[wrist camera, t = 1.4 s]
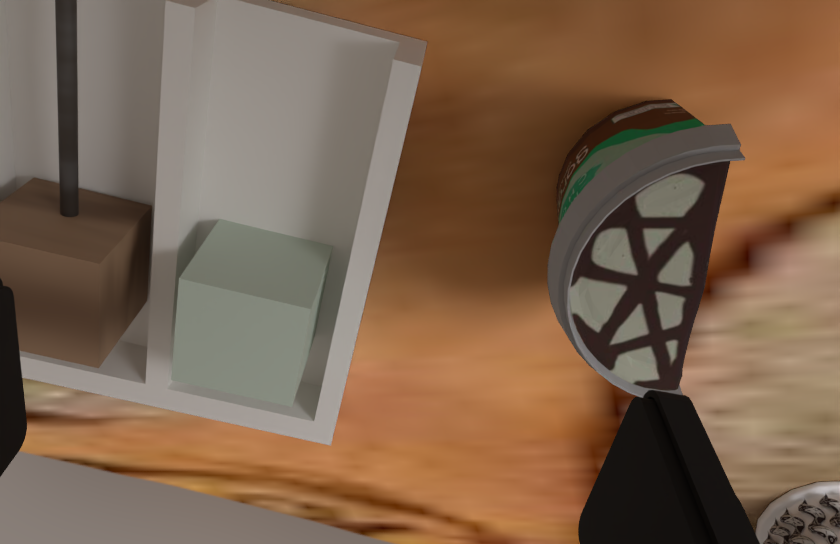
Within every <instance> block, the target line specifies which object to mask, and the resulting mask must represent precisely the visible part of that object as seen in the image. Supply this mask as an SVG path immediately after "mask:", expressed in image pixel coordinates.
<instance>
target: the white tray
mask: <svg viewBox="0 0 840 544" xmlns="http://www.w3.org/2000/svg"><path fill="white" fill-rule="evenodd" d="M426 46H427V41H423V40H419V39H415V38H412V37H408V36H404V35H400V34H396V33H392V32H389V31H385V30H381V29H377V28H373V27H370V26H366V25H362V24H358V23H354V22H350V21H347V20H343V19H339V18H335V17H331V16H327V15H324V14H320V13H316V12H312V11H308V10H305V9H301V8H297V7H293V6H289V5H285V4H282V3H278V2H274V1H270V0H77V72H78V187H79V188H80V189H85V190H89V191H93V192H97V193H101V194H106V195H110V196H114V197H118V198H122V199H126V200H131V201H135V202H139V203H143V204H147V205H151V206H152V217H151V237H150V257H149V276H148V296H147V302H146V303H145V305H144V306H143V307H142V309H141V310H140V312H139V313H138V314H137V316H136V317H135V319H134V320H133V321H132V323H131V324H130V326H129V327H128V328H127V330H126V331H125V332H124V334H123V335H122V337H121V338H120V339H119V341H118V342H117V344H116V345H115V346H114V348H113V349H112V350H111V352H110V353H109V355H108V356H107V357H106V359H105V360H104V362H103V363H102V364H101V366H100V367H99V368H95V367H90V366H86V365H81V364H77V363H72V362H68V361H64V360H59V359H55V358H50V357H46V356H41V355H37V354H32V353H28V352H23V351H20V361H21V371H22V377H23V378H27V379H32V380H36V381H41V382H45V383H50V384H54V385H59V386H63V387H68V388H73V389H77V390H82V391H86V392H91V393H95V394H100V395H104V396H109V397H113V398H118V399H122V400H127V401H131V402H136V403H141V404H145V405H150V406H154V407H159V408H163V409H168V410H172V411H177V412H181V413H186V414H190V415H195V416H199V417H204V418H209V419H213V420H218V421H222V422H227V423H231V424H236V425H240V426H245V427H249V428H254V429H258V430H263V431H267V432H272V433H277V434H281V435H286V436H290V437H295V438H299V439H304V440H308V441H313V442H317V443H322V444H326V445H331V442H332V438H333V434H334V430H335V425H336V421H337V417H338V413H339V409H340V405H341V400H342V396H343V392H344V388H345V384H346V380H347V376H348V371H349V367H350V363H351V359H352V355H353V351H354V346H355V342H356V338H357V334H358V330H359V326H360V322H361V317H362V313H363V309H364V305H365V301H366V297H367V292H368V288H369V284H370V280H371V276H372V272H373V268H374V263H375V259H376V255H377V251H378V247H379V243H380V238H381V234H382V230H383V226H384V222H385V218H386V214H387V209H388V205H389V201H390V197H391V193H392V189H393V184H394V180H395V176H396V172H397V168H398V164H399V160H400V155H401V151H402V147H403V143H404V139H405V135H406V130H407V126H408V122H409V118H410V114H411V110H412V106H413V101H414V97H415V93H416V89H417V85H418V81H419V76H420V72H421V68H422V64H423V59H424V55H425V51H426ZM34 177H35V178H39V179H43V180H47V181H51V182H55V183H59V145H58V103H57V61H56V19H55V0H0V202H1V201H3V200H4V199H5V198H7V197H8V196H9V195H11V194H12V193H13V192H15V191H16V190H17V189H19V188H20V187H21V186H23V185H24V184H26V183H27V182H28V181H30V180H31V179H32V178H34ZM219 219H223V220H227V221H231V222H235V223H239V224H243V225H248V226H252V227H256V228H260V229H264V230H268V231H273V232H277V233H281V234H285V235H289V236H293V237H298V238H302V239H306V240H310V241H314V242H318V243H323V244H327V245H331V246H333V249H332V254H331V259H330V264H329V269H328V274H327V279H326V284H325V289H324V294H323V299H322V304H321V309H320V313H319V318H318V323H317V328H316V333H315V337H314V340H313V344H312V347H311V350H310V353H309V356H308V359H307V362H306V365H305V368H304V371H303V375H302V378H301V381H300V384H299V387H298V390H297V393H296V396H295V399H294V403H293V406H292V407H290V406H285V405H281V404H276V403H272V402H267V401H263V400H258V399H254V398H249V397H245V396H240V395H236V394H231V393H227V392H222V391H218V390H213V389H209V388H204V387H200V386H196V385H191V384H187V383H182V382H178V381H173V380H171V376H172V363H173V349H174V336H175V323H176V310H177V297H178V284H179V278H180V276H181V275H182V273H183V272H184V270H185V269H186V267H187V266H188V264H189V263H190V262H191V260H192V259H193V257H194V256H195V254H196V253H197V251H198V250H199V248H200V247H201V245H202V244H203V243H204V241H205V240H206V238H207V237H208V235H209V234H210V232H211V231H212V229H213V228H214V226H215V225H216V224H217V222H218V221H219Z"/></svg>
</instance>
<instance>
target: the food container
mask: <svg viewBox="0 0 840 544" xmlns="http://www.w3.org/2000/svg"><path fill="white" fill-rule="evenodd" d="M740 146H741V144H740V142H739V140H738V138H737V136H736V134H735V132H734V130H733V128H732V126H731V124H722V125H704V124H703V123H702V122H700V121H699V120H698V119H696V118H695V117H694V116H693V115H691V114H690V113H689V112H687V111H686V110H685V109H683V108H682V107H681V106H679V105H678V104H677V103H675V102H674V101H673V100H656V101H645V102H642V103H639V104H636V105H633V106H630V107H627V108H624V109H621V110H618V111H615V112H613V113H612V114H610V115H609V116H608V117H606V118H605V119H603V120H602V121H600V122H599V123H597V124H596V125H594V126H593V127H591V128H590V129H588V130H587V131H586V132H585V134H584V135H583V136H582V137H581V139H580V140H579V141H578V142H577V143H576V145H575V146H574V147H573V148H572V150H571V151H570V152H569V153H568V155H567V157H566V160H565V162H564V164H563V167H562V169H561V172H560V174H559V179H558V184H557V213H558V229H557V231H556V234H555V237H554V239H553V242H552V245H551V250H550V255H549V260H548V289H549V295H550V300H551V304H552V307H553V309H554V312H555V314H556V317H557V320H558V322H559V323H560V325H561V326H562V328H563V330H564V331H565V333H566V335H567V336H568V338H569V339H570V341H571V343H572V344H573V346H574V348H575V349H576V351H577V352H578V353H579V355H580V356H581V357H582V358H583V359H584V360H585V361H586V362H587V363H588V365H589V366H591V367H592V368H593V369H594V370H596V371H597V372H598V373H599V374H601V375H602V376H603V377H604V378H606V379H607V380H608V381H609V382H611V383H612V384H614V385H616V386H617V387H619V388H621V389H623V390H625V391H626V392H628V393H631V394H633V395H636V396H639V397H642V398H643V396H644V394H645V393H646V392H647V391H648V390H657V391H662V392H668V393H674V394H679V395H682V391H681V388H680V385H679V383H680V380H681V377H682V368H683V363H684V358H685V354H686V350H687V346H688V342H689V338H690V334H691V330H692V327H693V323H694V320H695V317H696V314H697V311H698V308H699V304H700V301H701V297H702V294H703V291H704V287H705V281H706V276H707V270H708V264H709V258H710V252H711V247H712V242H713V237H714V231H715V226H716V221H717V217H718V213H719V208H720V204H721V200H722V195H723V191H724V186H725V182H726V178H727V173H728V169H729V165H730V161H738V160H745V157H744V156H743V154H742V153H741V152H740Z"/></svg>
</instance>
